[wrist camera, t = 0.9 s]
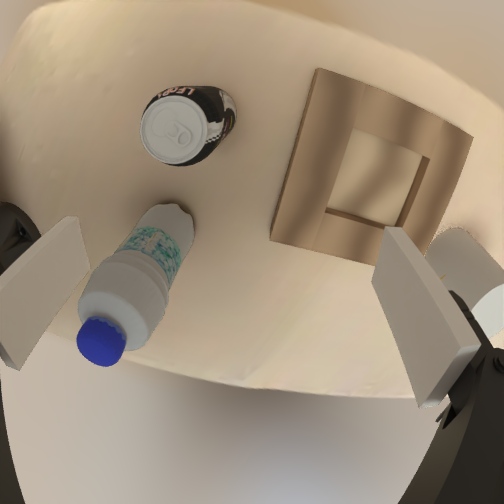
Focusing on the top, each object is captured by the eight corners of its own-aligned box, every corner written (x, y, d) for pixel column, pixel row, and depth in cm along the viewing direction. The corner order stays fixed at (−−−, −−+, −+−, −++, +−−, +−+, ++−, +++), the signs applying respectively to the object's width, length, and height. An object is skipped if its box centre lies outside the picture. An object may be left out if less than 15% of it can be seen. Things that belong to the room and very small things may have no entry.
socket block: (269, 230, 34) (269, 240, 32) (315, 69, 25) (319, 67, 23) (406, 265, 35) (412, 275, 33) (462, 132, 26) (473, 137, 24)
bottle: (151, 188, 32) (45, 303, 15) (207, 207, 33) (144, 346, 16) (140, 238, 36) (57, 364, 18) (191, 256, 36) (136, 399, 19)
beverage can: (214, 152, 30) (182, 190, 20) (170, 120, 28) (116, 141, 18) (249, 108, 28) (236, 121, 17) (203, 75, 26) (162, 69, 16)
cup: (412, 262, 35) (451, 326, 25) (454, 216, 31) (508, 269, 21) (443, 290, 37) (479, 350, 27) (481, 249, 33) (527, 303, 23)
